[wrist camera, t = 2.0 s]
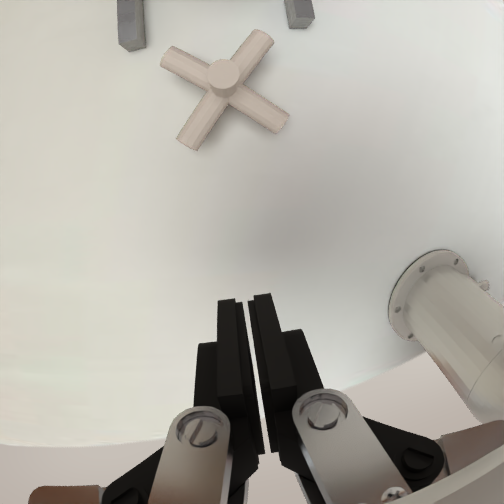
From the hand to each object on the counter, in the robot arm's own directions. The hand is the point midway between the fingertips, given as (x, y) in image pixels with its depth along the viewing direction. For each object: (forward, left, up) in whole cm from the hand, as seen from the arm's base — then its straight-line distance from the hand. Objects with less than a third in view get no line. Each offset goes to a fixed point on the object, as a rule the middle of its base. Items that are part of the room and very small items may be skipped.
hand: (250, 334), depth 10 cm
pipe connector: (0, -10, -20) cm, 22 cm away
